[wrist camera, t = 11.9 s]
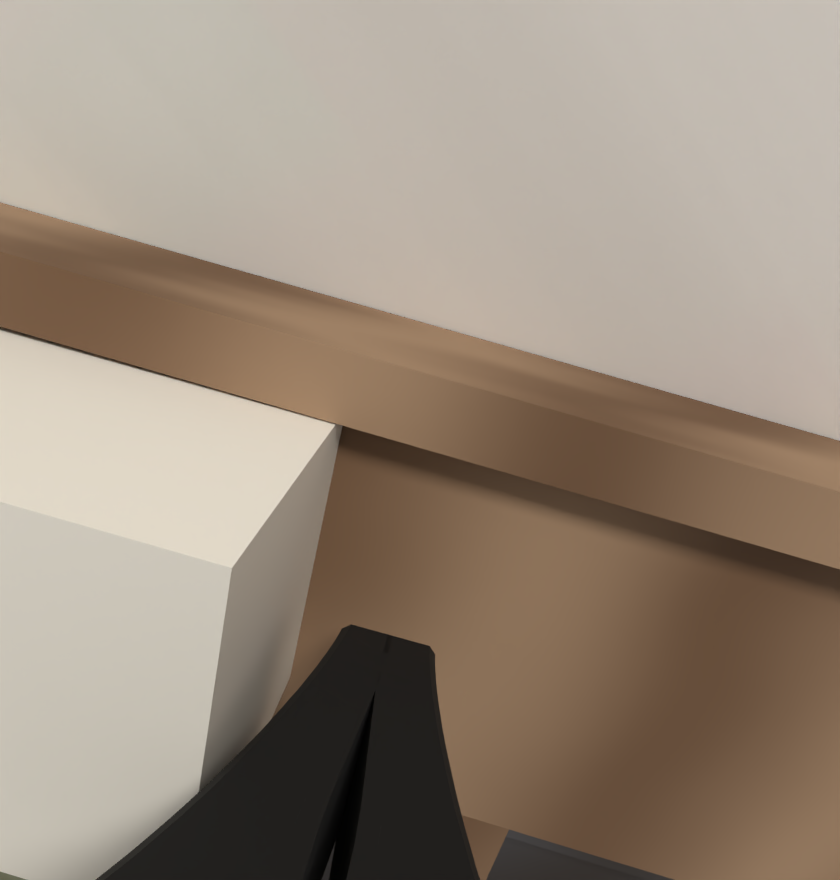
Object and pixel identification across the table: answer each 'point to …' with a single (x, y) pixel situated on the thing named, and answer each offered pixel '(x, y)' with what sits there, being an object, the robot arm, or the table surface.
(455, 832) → the robot arm
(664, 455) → the tray
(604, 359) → the table surface
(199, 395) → the cream block
